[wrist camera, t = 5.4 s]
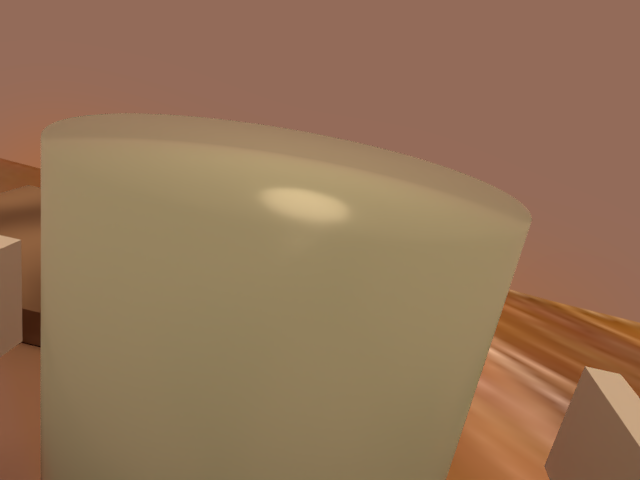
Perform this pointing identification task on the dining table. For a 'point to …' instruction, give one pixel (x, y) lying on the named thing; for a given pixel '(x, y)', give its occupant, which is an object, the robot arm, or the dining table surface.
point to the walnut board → (26, 251)
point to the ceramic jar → (260, 302)
